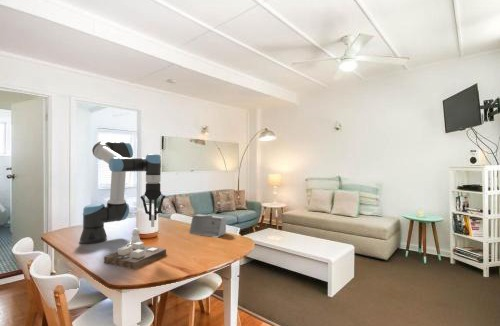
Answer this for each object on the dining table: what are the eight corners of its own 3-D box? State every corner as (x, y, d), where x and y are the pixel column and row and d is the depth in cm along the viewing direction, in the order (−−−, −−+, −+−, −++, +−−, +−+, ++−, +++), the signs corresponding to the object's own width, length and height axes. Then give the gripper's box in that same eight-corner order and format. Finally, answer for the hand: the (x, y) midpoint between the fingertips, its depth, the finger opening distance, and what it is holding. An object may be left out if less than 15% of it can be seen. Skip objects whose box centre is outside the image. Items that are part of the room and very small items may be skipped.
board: (104, 262, 138) (104, 255, 138) (138, 249, 159) (138, 243, 159) (134, 269, 130) (134, 261, 130) (166, 254, 151) (166, 248, 151)
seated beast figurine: (126, 246, 165) (126, 226, 165) (142, 244, 169) (142, 225, 169) (126, 251, 157) (126, 230, 157) (142, 249, 160) (142, 228, 160)
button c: (132, 249, 151) (132, 243, 151) (138, 247, 155) (138, 241, 155) (138, 250, 150) (138, 244, 150) (143, 248, 153) (143, 242, 153)
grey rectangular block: (230, 232, 201) (230, 215, 201) (218, 237, 186) (218, 219, 186) (202, 228, 212) (202, 212, 212) (188, 233, 197) (189, 216, 197)
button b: (132, 258, 138) (132, 251, 138) (138, 255, 142) (138, 249, 142) (138, 259, 137) (138, 252, 137) (144, 257, 140) (144, 250, 140)
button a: (117, 255, 142) (117, 248, 142) (124, 253, 146) (124, 246, 146) (123, 256, 140) (123, 249, 140) (129, 254, 144) (129, 247, 144)
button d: (146, 256, 147) (146, 249, 147) (152, 253, 151) (152, 247, 151) (152, 257, 146) (152, 250, 146) (157, 254, 149) (158, 248, 149)
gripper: (140, 183, 142) (139, 228, 143) (166, 183, 147) (165, 227, 147) (140, 182, 149) (139, 225, 149) (165, 182, 154) (164, 224, 154)
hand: (152, 226), depth 148 cm, fingers closed
